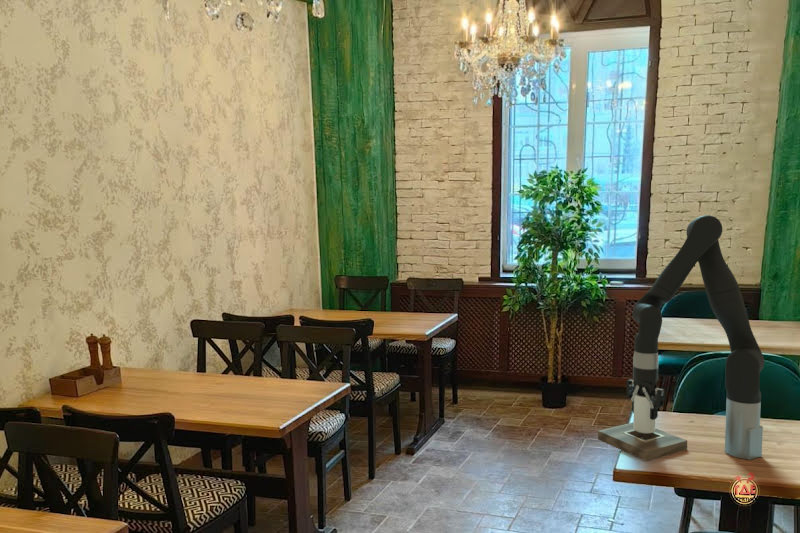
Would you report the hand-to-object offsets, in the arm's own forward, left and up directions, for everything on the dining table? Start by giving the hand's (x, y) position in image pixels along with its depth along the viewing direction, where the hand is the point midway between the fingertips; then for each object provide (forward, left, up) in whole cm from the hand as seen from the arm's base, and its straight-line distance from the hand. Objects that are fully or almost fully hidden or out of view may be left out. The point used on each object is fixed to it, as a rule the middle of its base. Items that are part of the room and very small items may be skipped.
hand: (644, 415), depth 201 cm
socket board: (0, 0, -9) cm, 9 cm away
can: (0, 0, -5) cm, 5 cm away
